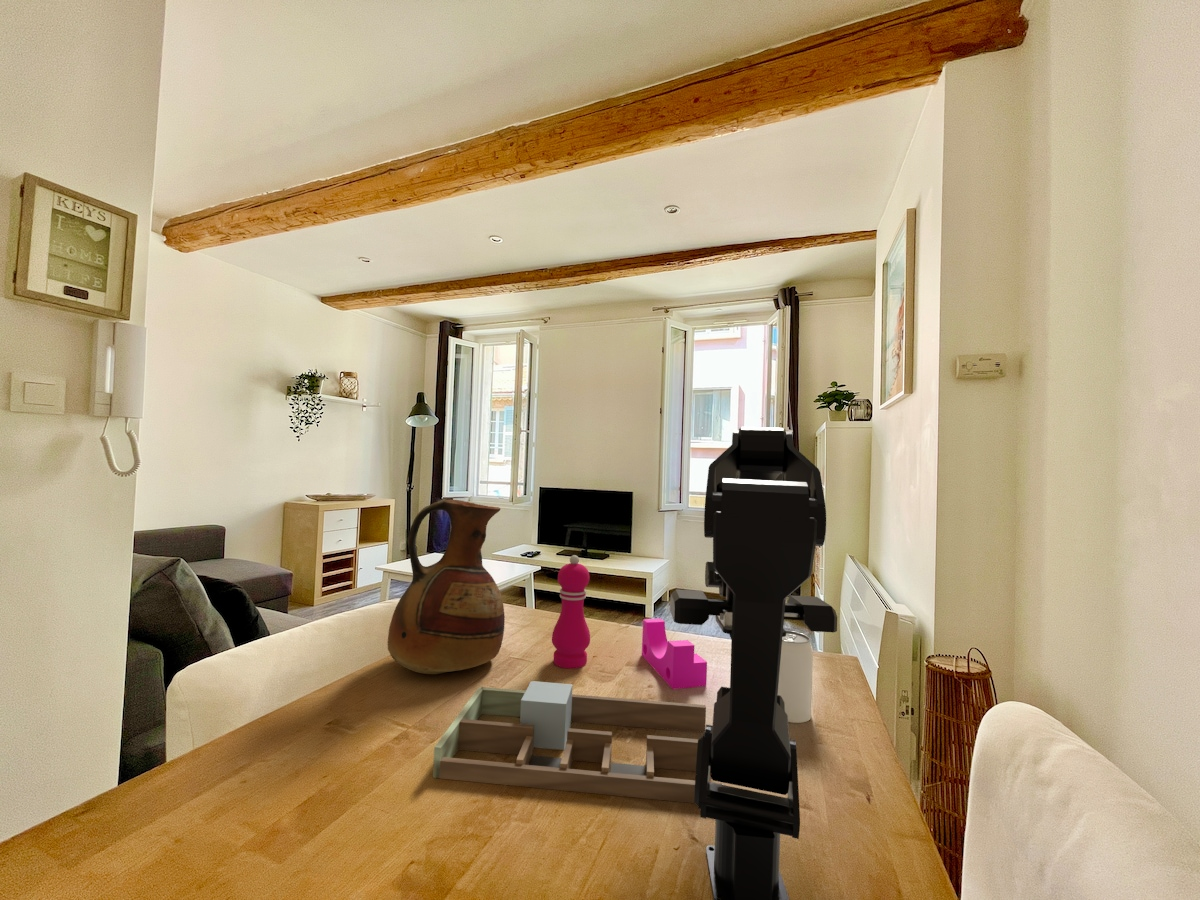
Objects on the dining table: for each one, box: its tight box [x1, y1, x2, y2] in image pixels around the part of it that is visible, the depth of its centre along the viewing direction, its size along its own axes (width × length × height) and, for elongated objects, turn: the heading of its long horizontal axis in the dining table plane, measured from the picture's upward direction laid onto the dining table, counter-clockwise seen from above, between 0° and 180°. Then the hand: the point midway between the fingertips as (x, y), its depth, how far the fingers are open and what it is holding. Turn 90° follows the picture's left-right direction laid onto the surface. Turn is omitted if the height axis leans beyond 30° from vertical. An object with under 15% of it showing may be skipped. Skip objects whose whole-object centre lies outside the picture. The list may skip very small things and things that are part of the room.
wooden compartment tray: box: [432, 686, 723, 804], centre depth 66 cm, size 16×33×4 cm, turn 85°
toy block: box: [641, 618, 708, 690], centre depth 93 cm, size 15×6×8 cm, turn 15°
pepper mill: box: [551, 554, 591, 670], centre depth 95 cm, size 7×7×20 cm
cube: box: [519, 680, 573, 751], centre depth 69 cm, size 6×6×6 cm
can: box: [777, 629, 814, 724], centre depth 78 cm, size 6×6×12 cm
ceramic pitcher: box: [387, 498, 506, 675], centre depth 93 cm, size 20×20×30 cm
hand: (747, 681), depth 61 cm, fingers closed
